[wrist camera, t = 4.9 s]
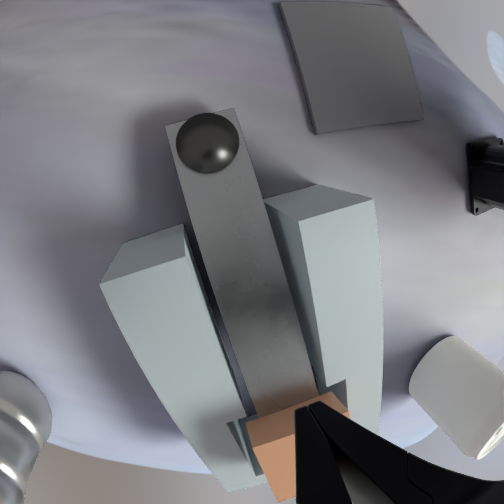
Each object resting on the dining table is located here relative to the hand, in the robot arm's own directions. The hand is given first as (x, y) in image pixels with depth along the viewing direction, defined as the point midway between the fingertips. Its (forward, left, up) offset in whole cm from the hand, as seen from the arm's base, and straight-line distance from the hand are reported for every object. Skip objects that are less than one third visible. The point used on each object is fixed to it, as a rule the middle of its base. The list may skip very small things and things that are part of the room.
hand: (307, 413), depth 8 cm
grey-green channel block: (0, +5, -11) cm, 12 cm away
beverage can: (-17, +17, -12) cm, 27 cm away
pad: (-11, -11, -11) cm, 20 cm away
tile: (0, +8, -5) cm, 9 cm away
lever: (0, +1, -8) cm, 8 cm away
